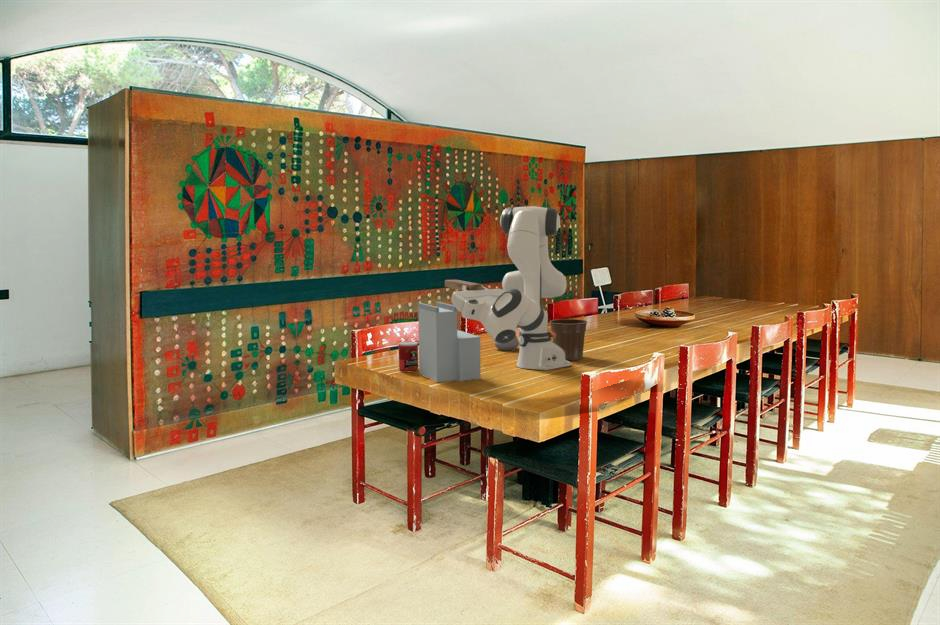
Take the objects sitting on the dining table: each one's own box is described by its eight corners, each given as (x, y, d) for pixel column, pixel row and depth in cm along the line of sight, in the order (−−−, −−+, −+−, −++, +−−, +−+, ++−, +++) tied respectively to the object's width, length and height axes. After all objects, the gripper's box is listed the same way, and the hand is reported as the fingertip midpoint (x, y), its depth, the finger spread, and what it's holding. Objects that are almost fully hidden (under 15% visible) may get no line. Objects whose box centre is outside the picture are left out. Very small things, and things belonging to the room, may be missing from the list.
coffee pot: (489, 348, 332) (489, 316, 330) (511, 346, 337) (511, 315, 335) (512, 356, 313) (512, 322, 311) (535, 353, 318) (535, 320, 316)
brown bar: (455, 286, 274) (455, 279, 274) (481, 291, 255) (481, 284, 254) (444, 286, 272) (444, 280, 272) (470, 292, 253) (470, 284, 252)
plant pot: (541, 357, 309) (541, 320, 307) (568, 353, 319) (568, 317, 317) (567, 363, 296) (568, 324, 294) (594, 358, 306) (595, 321, 304)
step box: (459, 369, 285) (458, 300, 281) (480, 378, 268) (480, 305, 264) (419, 373, 277) (418, 303, 274) (439, 383, 260) (437, 308, 257)
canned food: (405, 372, 280) (405, 345, 278) (395, 369, 286) (394, 342, 285) (422, 370, 284) (421, 343, 283) (411, 367, 290) (411, 340, 289)
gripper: (515, 299, 250) (498, 277, 260) (462, 303, 241) (447, 280, 251) (510, 314, 254) (494, 291, 263) (458, 318, 245) (444, 294, 254)
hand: (471, 286), depth 257 cm, fingers closed on brown bar, 4 cm apart
